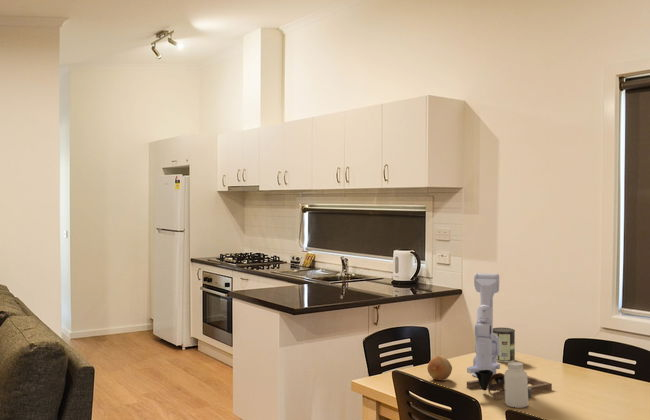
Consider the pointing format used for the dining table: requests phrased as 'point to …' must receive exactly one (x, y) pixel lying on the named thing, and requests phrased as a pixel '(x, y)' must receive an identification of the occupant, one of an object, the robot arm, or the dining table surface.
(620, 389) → the dining table surface
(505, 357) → the coffee can
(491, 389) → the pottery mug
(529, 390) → the block
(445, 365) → the onion
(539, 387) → the walnut slot beam
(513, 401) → the pill bottle
